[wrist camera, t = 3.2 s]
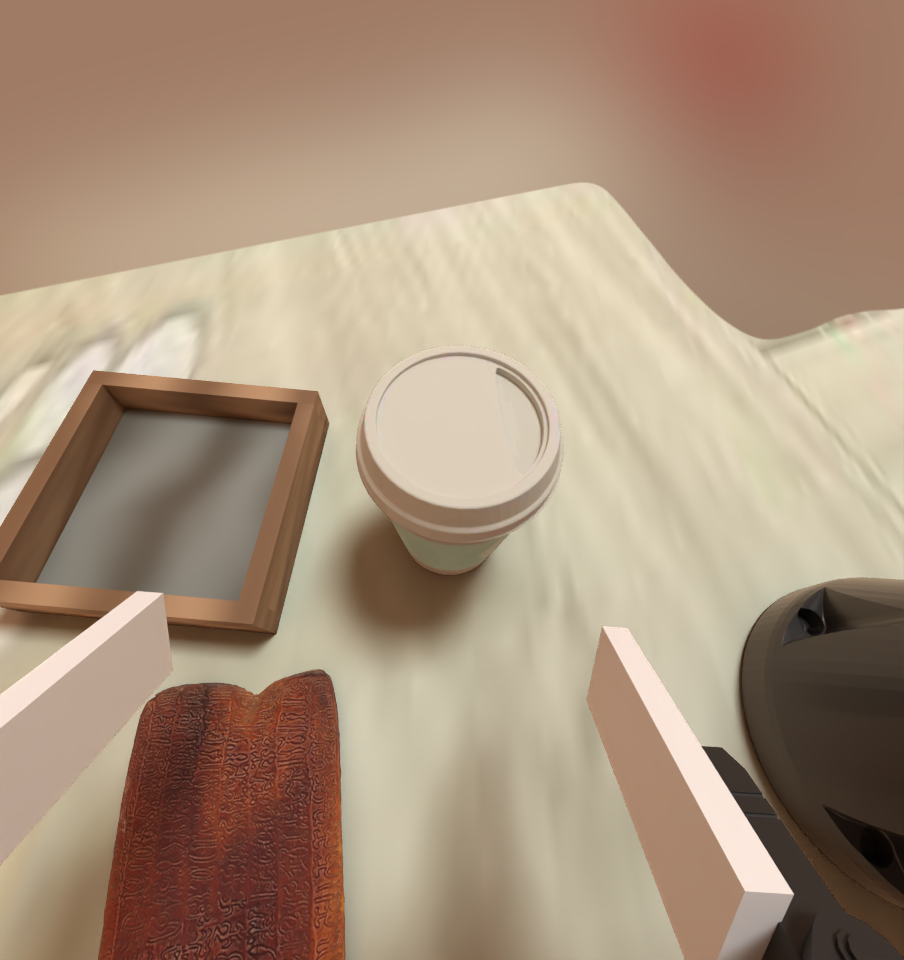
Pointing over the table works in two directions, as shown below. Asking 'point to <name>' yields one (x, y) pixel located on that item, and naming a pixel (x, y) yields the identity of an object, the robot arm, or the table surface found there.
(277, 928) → the wooden tablet
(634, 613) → the table surface
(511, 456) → the coffee cup
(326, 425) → the wood rimmed frame
